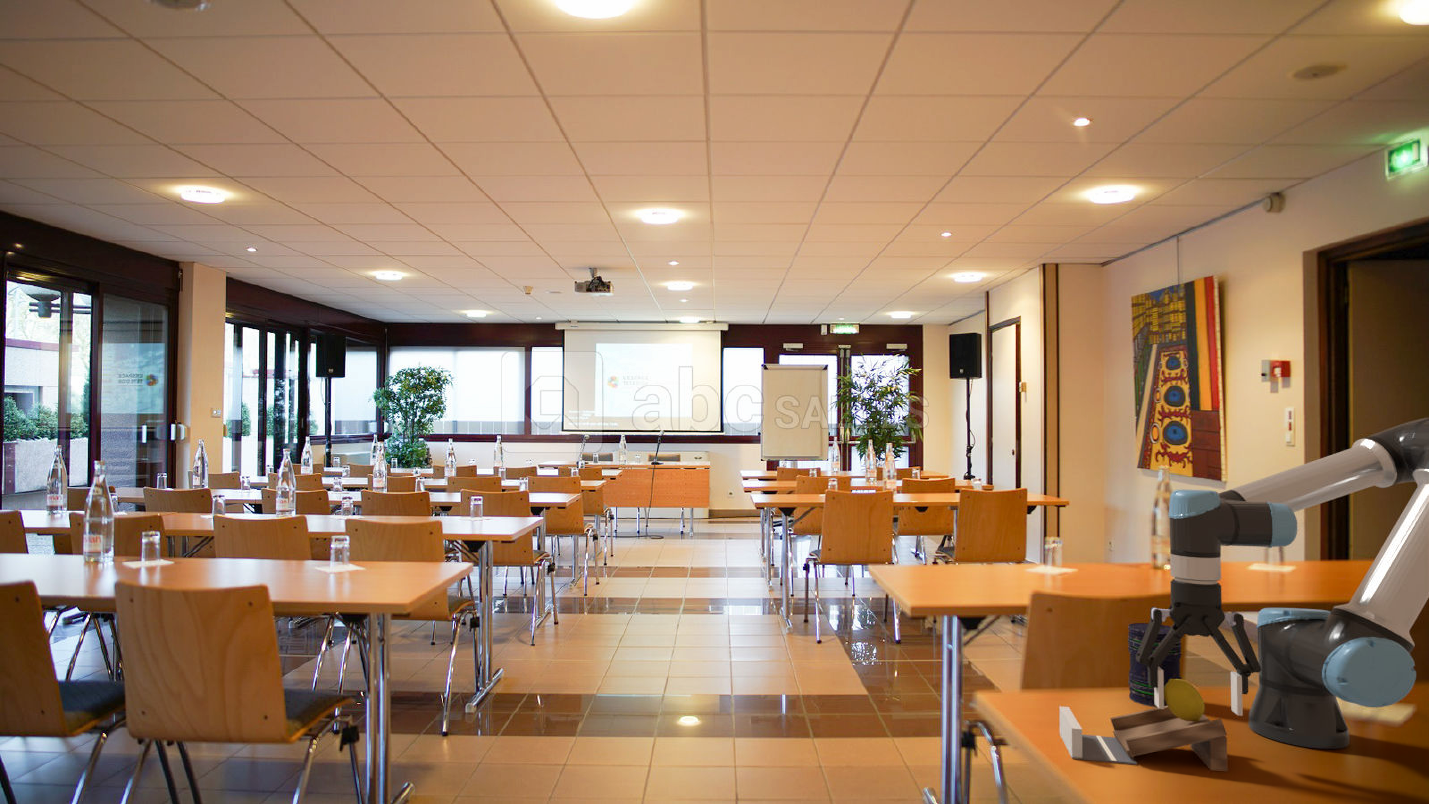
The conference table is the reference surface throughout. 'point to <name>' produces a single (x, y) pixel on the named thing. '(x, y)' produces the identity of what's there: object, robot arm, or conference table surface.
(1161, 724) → the ramp
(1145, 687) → the dark blue upright cylinder
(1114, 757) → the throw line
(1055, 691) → the conference table surface
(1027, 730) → the conference table surface
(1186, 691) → the lemon
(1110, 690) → the conference table surface
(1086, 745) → the lane mat
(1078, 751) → the rail
